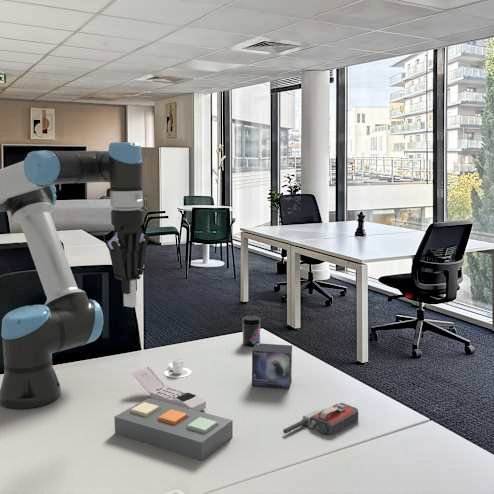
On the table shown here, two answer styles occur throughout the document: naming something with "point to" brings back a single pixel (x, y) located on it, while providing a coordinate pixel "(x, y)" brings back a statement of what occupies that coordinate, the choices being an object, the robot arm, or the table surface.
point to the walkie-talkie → (328, 419)
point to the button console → (174, 430)
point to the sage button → (202, 425)
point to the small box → (272, 365)
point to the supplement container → (251, 330)
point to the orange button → (173, 417)
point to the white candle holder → (177, 368)
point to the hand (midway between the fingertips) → (130, 305)
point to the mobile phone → (168, 391)
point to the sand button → (145, 409)
